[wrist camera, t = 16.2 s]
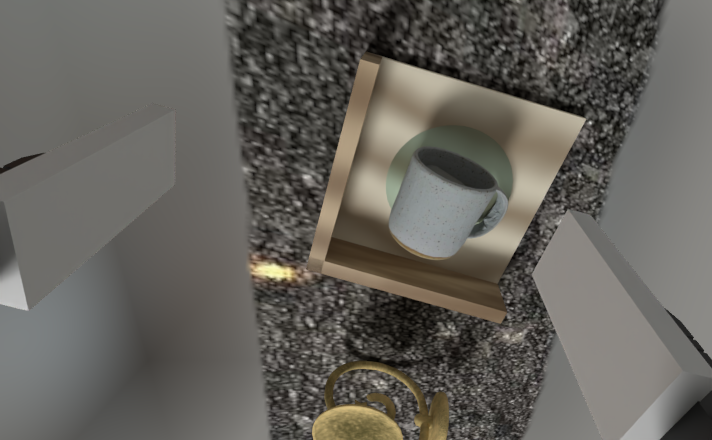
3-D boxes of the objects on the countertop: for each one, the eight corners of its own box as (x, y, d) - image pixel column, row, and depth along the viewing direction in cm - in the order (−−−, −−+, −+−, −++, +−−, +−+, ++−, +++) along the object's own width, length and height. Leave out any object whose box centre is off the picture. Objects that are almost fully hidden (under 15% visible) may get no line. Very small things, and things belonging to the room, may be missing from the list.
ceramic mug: (384, 212, 43) (382, 253, 36) (413, 137, 39) (417, 167, 32) (482, 243, 43) (498, 288, 36) (520, 172, 39) (546, 208, 33)
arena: (365, 51, 37) (360, 59, 32) (582, 116, 37) (609, 134, 32) (316, 240, 46) (306, 269, 41) (490, 289, 47) (500, 323, 42)
